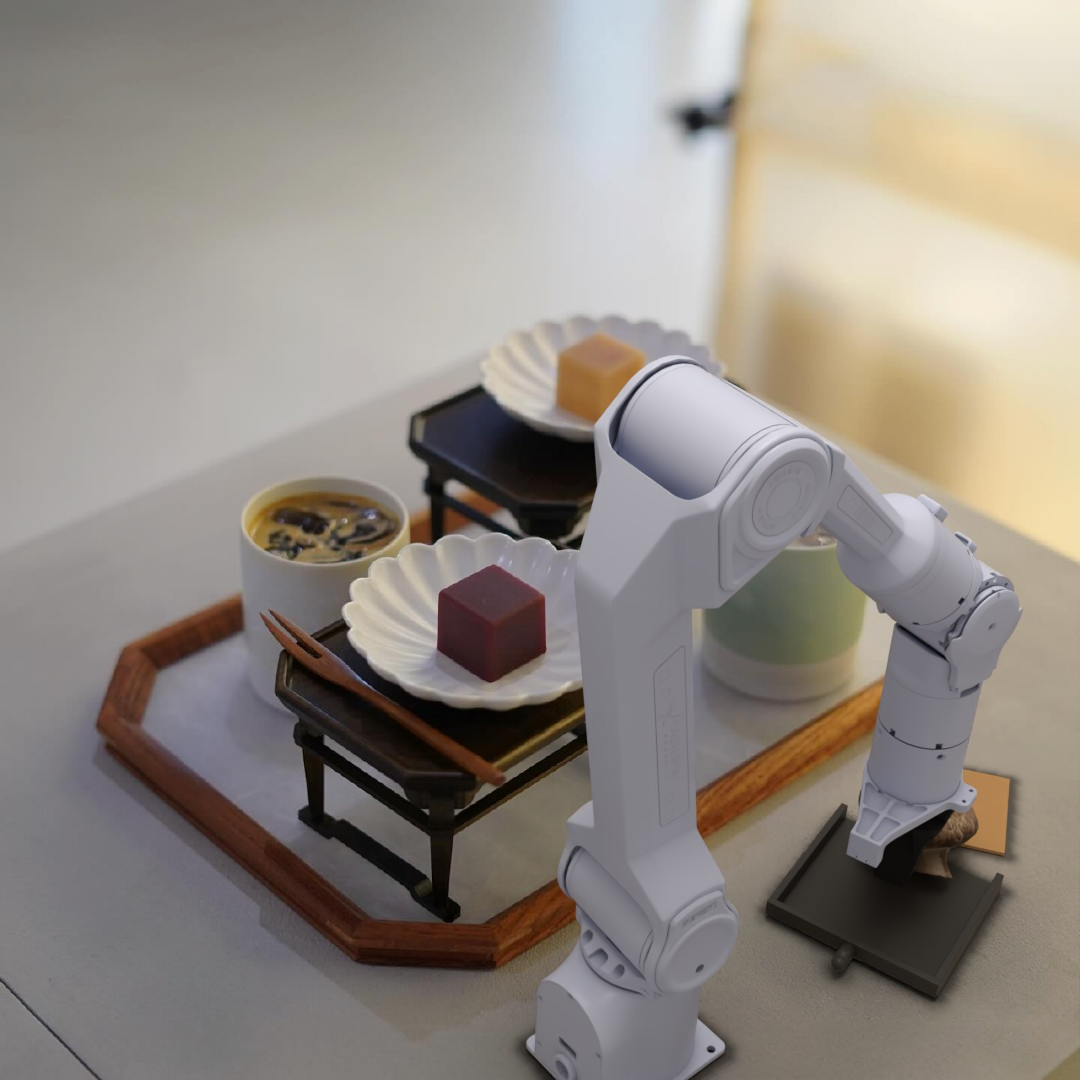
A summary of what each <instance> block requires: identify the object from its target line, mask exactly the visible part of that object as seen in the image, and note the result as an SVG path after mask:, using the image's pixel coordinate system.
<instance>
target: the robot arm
mask: <svg viewBox="0 0 1080 1080" xmlns="http://www.w3.org/2000/svg"><path fill="white" fill-rule="evenodd" d="M593 443H594V444H593V445H594V456H595V471H596V485H597V486H596V488H595V493H594V496H593V500H592V504H591V506H590V511H589V514H588V518H587V521H586V526H585V529H584V532H583V536H582V540H581V545H580V548H579V551H578V555H577V560H576V562H575V566H574V580H573V581H574V582H573V584H574V597H575V608H576V618H577V619H576V620H577V632H578V634H577V635H578V644H579V655H580V656H579V657H580V669H581V682H582V692H583V694H582V695H583V704H584V705H583V706H584V716H585V728H586V729H585V730H586V742H587V753H588V765H589V777H590V788H591V799H590V800H589V801H587V802H586V803H584V804H583V805H582V806H581V807H579V809H577V810H576V811H575V812H574V813H573V814H572V815H571V816H569V817H568V819H566V822H565V823H566V840H565V841H566V842H565V845H564V849H563V851H562V854H561V857H560V859H559V862H558V866H557V871H556V879H557V884H558V886H559V888H560V890H561V891H562V893H564V895H566V897H568V898H569V899H571V900H573V901H574V902H575V919H576V920H577V922H578V924H579V926H580V935H579V937H578V939H577V942H576V944H575V946H574V947H573V948H572V950H571V952H570V953H569V955H568V956H567V958H566V959H565V960H564V961H563V962H561V964H560V965H559V966H558V967H557V968H556V969H555V970H553V971H552V972H551V973H550V974H548V975H547V976H546V977H544V978H543V979H541V981H540V982H539V984H538V986H537V989H536V995H535V1000H536V1001H535V1029H534V1030H535V1032H534V1034H532V1035H531V1036H529V1037H528V1038H527V1039H526V1044H525V1045H526V1047H525V1048H526V1050H527V1051H528V1052H529V1053H530V1054H531V1055H532V1056H533V1057H534V1058H535V1059H536V1060H537V1061H538V1062H539V1064H540V1065H542V1067H544V1068H545V1069H546V1071H548V1073H549V1074H550V1075H552V1077H553V1078H554V1079H555V1080H689V1079H691V1078H692V1077H693V1076H694V1075H696V1074H697V1073H698V1072H699V1073H700V1071H701V1070H703V1069H704V1068H705V1067H707V1066H708V1065H709V1064H711V1063H712V1062H714V1061H716V1059H718V1058H719V1057H721V1056H722V1055H723V1054H724V1053H725V1051H726V1050H725V1049H726V1045H725V1042H724V1041H723V1040H722V1039H721V1038H720V1037H719V1036H718V1035H717V1034H715V1033H714V1032H713V1031H712V1029H710V1028H709V1027H708V1026H707V1025H705V1023H704V1022H703V1021H702V1020H700V1018H698V1015H699V1008H700V1001H701V1000H700V999H701V991H702V990H701V989H702V985H703V984H705V983H706V982H707V981H709V980H710V979H711V978H712V977H713V976H714V975H715V974H717V973H718V971H720V969H722V967H723V966H724V964H725V963H726V962H727V961H728V959H729V957H730V955H732V952H733V950H734V948H735V946H736V943H737V940H738V934H739V931H740V922H741V921H740V913H739V911H738V910H737V908H736V907H735V906H734V904H732V903H731V902H730V901H729V899H728V897H727V882H726V879H725V877H724V875H723V873H722V871H721V869H720V867H719V865H718V864H717V862H716V860H715V859H714V856H713V855H712V853H711V851H710V849H709V848H708V846H707V845H706V842H705V841H704V839H703V837H702V835H701V833H700V832H699V830H698V826H697V825H698V823H697V822H698V821H697V820H698V819H697V781H696V780H697V779H696V737H695V735H696V734H695V730H696V729H695V697H694V696H695V695H694V694H695V693H694V691H695V690H694V689H695V688H694V687H695V686H694V654H693V653H694V650H693V647H694V645H693V610H704V609H705V610H708V609H710V610H712V609H713V610H714V609H715V610H716V609H719V608H720V607H722V606H723V605H724V604H726V602H727V601H729V600H730V598H732V597H733V596H734V595H735V594H736V593H737V592H739V590H741V589H742V588H743V587H744V586H745V585H746V584H748V582H749V581H751V580H752V579H753V578H754V577H755V576H756V575H757V574H758V573H760V571H762V570H763V569H764V568H765V567H766V566H767V565H769V564H770V563H771V562H772V561H773V560H774V559H775V558H776V557H777V556H778V555H779V554H780V553H782V552H783V551H784V550H785V549H786V548H787V547H788V546H790V545H791V543H793V542H794V541H795V540H796V539H797V538H798V537H801V538H808V537H810V536H811V535H812V534H813V533H814V531H816V529H817V528H818V526H819V527H820V528H822V529H823V530H824V531H825V532H826V533H828V534H829V535H830V536H832V537H833V538H834V539H836V547H835V548H836V551H835V552H836V553H835V554H836V558H837V559H836V560H837V563H838V566H839V568H840V570H841V572H842V574H843V575H844V577H845V578H846V579H847V580H848V581H849V582H850V583H851V584H852V585H853V586H855V587H856V588H857V589H859V590H860V591H861V592H862V593H864V594H865V595H866V596H867V597H868V598H870V599H871V600H872V601H873V602H875V603H876V609H877V611H878V613H879V614H881V615H883V614H885V615H887V616H888V617H889V618H890V619H891V620H893V622H895V623H894V624H893V628H892V629H893V630H892V635H891V641H890V645H889V651H888V654H887V655H888V656H887V662H886V668H885V672H884V678H883V683H882V688H881V694H880V700H879V704H878V709H877V715H876V720H875V726H874V730H873V737H872V742H871V747H870V753H868V755H867V757H866V759H865V761H864V767H863V771H862V781H861V788H860V790H859V795H858V801H857V803H858V813H857V818H856V821H855V822H856V824H855V826H854V827H853V829H852V830H851V832H850V837H849V843H848V848H847V853H846V854H847V855H849V856H851V857H853V858H855V859H857V860H859V861H861V862H863V863H865V864H868V865H870V866H873V873H874V876H876V877H878V878H880V879H882V880H885V881H887V882H889V883H891V884H893V885H895V886H897V887H900V888H903V886H904V885H905V884H906V882H907V881H908V879H909V878H910V876H911V875H912V873H913V872H914V870H915V868H916V866H917V864H918V862H919V860H920V858H921V855H922V853H923V851H924V849H925V847H926V845H927V843H928V842H930V841H931V840H933V839H934V838H935V837H936V836H937V835H938V834H939V833H940V832H941V830H942V829H943V827H944V826H945V824H946V823H947V822H948V820H949V819H950V817H951V816H952V814H953V813H954V811H957V812H960V813H966V812H968V811H969V809H970V808H971V806H972V805H973V803H974V802H975V800H976V796H977V790H976V789H975V788H974V787H972V786H970V785H968V784H966V783H965V782H964V781H963V769H964V764H965V760H966V757H967V751H968V748H969V744H970V739H971V735H972V730H973V727H974V723H975V718H976V713H977V709H978V706H979V701H980V696H981V692H982V688H983V683H984V682H985V681H986V680H988V679H990V678H991V677H992V675H993V672H994V671H995V670H996V669H997V665H998V662H999V658H1000V655H1001V653H1002V649H1003V648H1004V647H1005V645H1006V644H1007V642H1008V641H1009V639H1010V638H1011V637H1012V635H1013V633H1014V632H1015V630H1016V628H1017V626H1018V624H1019V622H1020V620H1021V617H1022V614H1023V611H1024V608H1023V607H1022V606H1020V600H1019V597H1018V595H1017V594H1016V593H1015V586H1014V584H1013V582H1012V580H1011V579H1010V578H1008V577H1007V576H1005V575H1004V574H1002V573H1001V572H999V571H997V570H995V569H993V568H992V567H990V566H989V565H988V564H986V563H984V562H983V561H981V560H979V559H978V558H977V556H976V555H975V553H976V551H977V548H978V546H977V544H976V542H975V541H973V540H972V539H971V538H970V537H968V536H966V534H964V533H962V532H960V531H954V532H952V531H951V530H950V529H949V528H948V526H946V525H945V524H944V521H945V520H946V519H947V517H948V516H949V512H948V510H947V509H946V508H945V507H943V505H942V504H940V503H939V502H937V501H936V500H934V499H932V498H931V497H928V495H925V494H924V493H920V494H919V495H918V496H917V497H914V496H911V495H908V494H905V493H901V492H900V493H898V492H888V493H881V492H880V491H879V490H878V488H877V487H876V486H875V485H874V483H872V482H871V480H869V478H868V477H867V476H866V475H865V474H864V473H863V472H862V471H861V470H860V468H859V467H858V466H857V465H856V464H855V463H854V462H853V460H851V459H850V457H849V456H848V455H847V454H846V453H845V451H843V449H841V447H840V446H839V445H837V444H835V442H832V441H831V440H829V439H827V438H825V437H824V436H822V435H820V434H819V433H817V432H816V431H814V430H813V429H811V428H809V427H808V426H806V425H804V424H803V423H801V422H799V421H797V420H796V419H794V418H793V417H791V416H789V414H786V413H785V412H783V411H781V410H779V409H778V408H775V407H774V406H773V405H770V404H769V403H767V402H765V401H764V400H761V399H760V398H758V397H756V396H755V395H753V394H751V393H750V392H748V391H746V390H744V389H743V388H741V387H739V386H737V385H735V384H733V383H731V382H729V381H728V380H725V379H724V378H718V377H716V376H715V375H714V374H711V373H710V372H709V371H708V369H707V368H706V366H705V365H703V364H702V363H700V362H699V361H697V360H696V359H695V358H692V357H689V356H685V355H680V354H671V355H667V356H663V357H662V356H661V357H659V358H657V359H655V360H653V361H651V362H649V363H648V364H646V365H645V366H643V367H642V368H641V369H639V370H638V371H637V372H636V373H635V374H634V375H633V376H632V377H631V378H630V379H629V380H628V381H627V382H626V384H625V385H623V387H622V388H621V390H620V391H619V393H618V394H617V395H616V396H615V398H614V399H613V400H612V401H611V403H610V404H609V405H608V406H607V408H606V409H605V411H603V413H602V415H600V417H599V418H598V420H597V421H596V422H595V423H594V425H593ZM709 1051H712V1052H709Z"/></svg>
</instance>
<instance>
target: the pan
mask: <svg viewBox="0 0 1080 1080" xmlns="http://www.w3.org/2000/svg"><path fill="white" fill-rule="evenodd" d="M848 808H849V805H848V804H846V803H845V802H841V803H840V805H839V806H838V807H837V808H836V810H835V811H834V812H833V813H832V815H831V816H830V818H829V819H828V820H827V822H826V823H825V824H824V825H823V827H822V828H821V830H819V832H818V833H817V835H815V837H814V839H812V841H811V843H810V844H809V845H808V847H807V848H805V850H804V851H803V853H802V854H801V855H800V857H799V858H798V859H797V861H796V862H795V864H794V865H793V866H792V867H791V868H790V869H789V871H788V873H787V874H786V875H785V877H784V878H783V879H782V880H781V882H780V883H779V885H778V886H776V888H775V889H774V891H773V892H772V894H771V895H770V896H769V898H768V899H767V900H766V905H765V912H764V914H766V915H768V916H770V917H771V918H774V919H776V920H778V921H780V922H781V923H784V924H786V925H787V926H790V927H792V928H794V929H796V930H798V931H800V932H802V933H803V934H805V935H807V936H810V937H811V938H814V939H816V940H818V941H820V942H822V943H824V944H826V945H827V946H830V947H832V948H834V949H836V950H837V951H836V952H835V953H834V955H833V956H832V958H831V960H830V967H831V968H832V969H833V970H834V971H835V972H842V971H844V970H845V969H846V968H847V967H848V965H849V964H850V962H851V961H852V959H853V958H854V959H856V960H857V961H860V962H862V963H865V964H866V965H868V966H870V967H872V968H874V969H876V970H878V971H880V972H882V973H884V974H886V975H888V976H890V977H892V978H895V979H896V980H898V981H901V982H902V983H904V984H907V985H909V987H912V988H914V989H916V990H918V991H921V992H922V993H924V994H926V995H929V996H930V997H933V998H936V997H938V996H939V995H940V993H941V992H942V990H943V988H944V987H945V985H946V983H947V981H948V980H949V978H950V976H951V975H952V973H953V971H954V970H955V968H956V967H957V965H958V963H959V961H960V959H961V958H962V956H963V955H964V953H965V952H966V950H967V948H968V946H969V944H970V943H971V941H972V939H973V938H974V936H975V935H976V933H977V931H978V929H979V928H980V926H981V925H982V923H983V921H984V919H985V917H986V916H987V914H988V912H989V911H990V909H991V907H992V906H993V904H994V902H995V901H996V899H997V897H998V896H999V894H1000V892H1001V889H1002V885H1003V881H1004V877H1005V875H1004V874H1002V873H1000V872H996V873H995V875H994V877H993V879H992V880H991V882H989V881H987V880H985V879H982V878H980V877H978V876H975V875H974V874H971V873H969V872H967V871H964V870H962V869H960V868H958V867H957V866H953V865H951V864H949V863H947V866H948V869H949V871H950V873H951V875H952V878H953V879H948V878H942V877H938V876H933V875H928V874H924V873H921V872H917V871H914V872H913V873H912V875H911V876H910V878H909V879H908V881H907V882H906V884H905V885H904V886H903V888H900V887H897V886H895V885H893V884H891V883H889V882H887V881H885V880H882V879H880V878H878V877H876V876H874V873H873V866H870V865H868V864H865V863H863V862H861V861H859V860H857V859H855V858H853V857H851V856H849V855H847V854H846V853H847V848H848V843H849V837H850V832H851V830H852V829H853V827H854V826H855V824H856V821H854V820H852V819H849V818H847V814H848Z"/></svg>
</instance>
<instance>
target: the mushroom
mask: <svg viewBox="0 0 1080 1080" xmlns="http://www.w3.org/2000/svg"><path fill="white" fill-rule="evenodd" d="M978 828H979V825H978V819H977V817H976V814H975V812H974V809H973V807H972V806H971V808H970V809H969V811H968V812H966V813H960V812H957V811H954V813H953V814H952V816H951V817H950V819H949V820H948V822H947V823H946V824H945V826H944V827H943V829H942V830H941V832H940V833H939V834H938V835H937V836H936V837H935V838H934V839H933V840H931V841H930V842H928V843H927V845H926V847H925V849H924V851H923V853H922V855H921V858H920V860H919V862H918V864H917V866H916V868H915V870H914V871H917V872H921V873H924V874H928V875H933V876H938V877H942V878H948V879H953V878H952V875H951V873H950V871H949V869H948V866H947V864H948V861H947V855H948V853H949V851H950V849H953V848H956V847H961V846H960V845H963V844H964V843H965V842H967V841H968V840H969V839H970V838H972V837H973V836H974V835H975V834H976V833H977V830H978Z"/></svg>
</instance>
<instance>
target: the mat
mask: <svg viewBox="0 0 1080 1080" xmlns="http://www.w3.org/2000/svg"><path fill="white" fill-rule="evenodd" d="M963 781H964V782H965V783H966V784H968V785H970V786H972V787H974V788H975V789H976V790H977V796H976V800H975V802H974V803H973V805H972V807H973V809H974V812H975V814H976V817H977V819H978V825H979V828H978V830H977V833H976V834H975V835H974V836H973V837H972V838H970V839H969V840H968V841H967V842H965V843H964V844H963V845H960V846H959V847H961V848H965V849H970V850H976V851H980V852H985V853H989V854H994V855H998V856H1003V857H1004V856H1005V854H1006V841H1007V830H1008V829H1007V828H1008V827H1007V826H1008V812H1009V799H1010V784H1011V779H1010V778H1007V777H1003V776H998V775H993V774H988V773H984V772H980V771H974V770H969V769H966V768H965V769H964V768H963Z"/></svg>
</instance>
